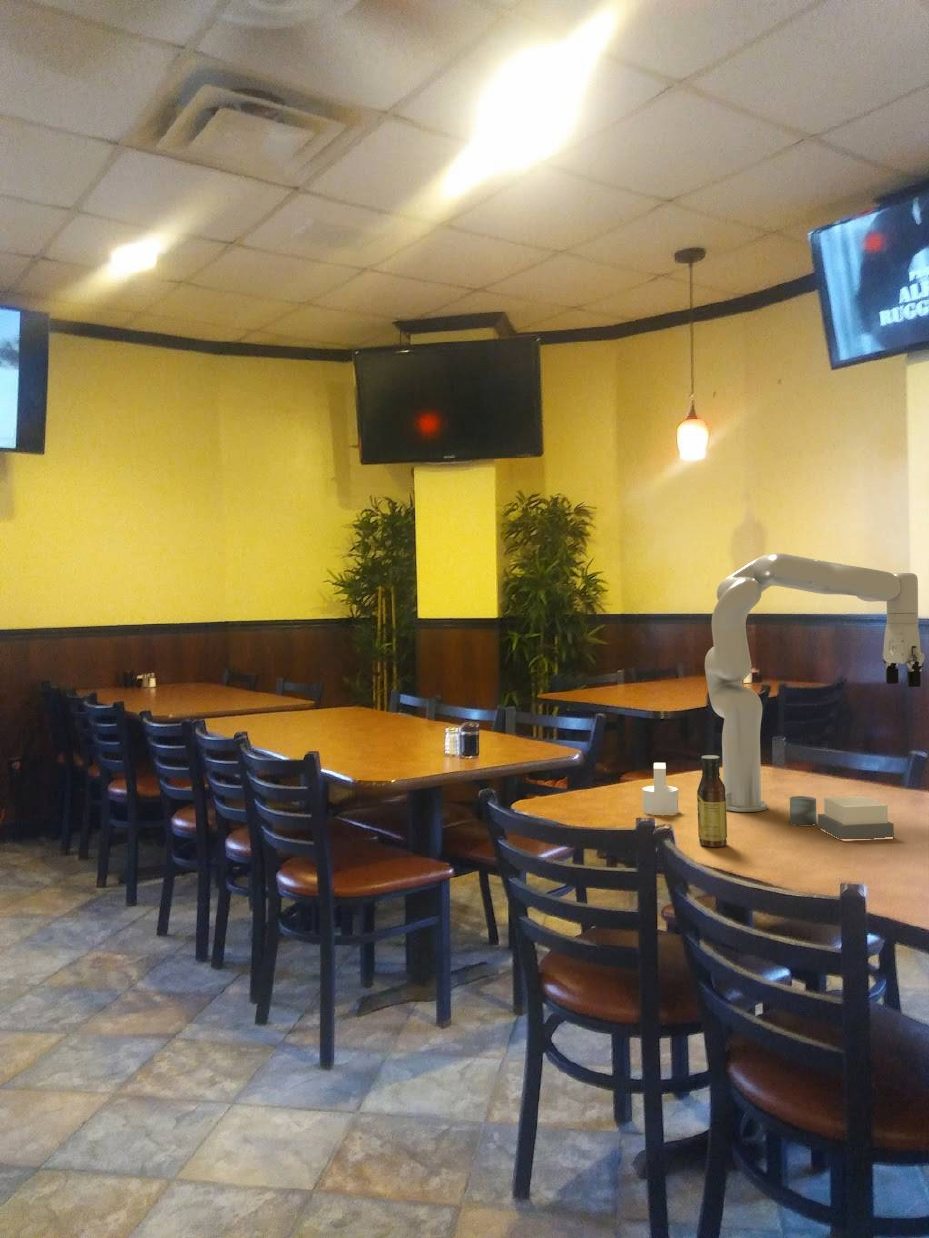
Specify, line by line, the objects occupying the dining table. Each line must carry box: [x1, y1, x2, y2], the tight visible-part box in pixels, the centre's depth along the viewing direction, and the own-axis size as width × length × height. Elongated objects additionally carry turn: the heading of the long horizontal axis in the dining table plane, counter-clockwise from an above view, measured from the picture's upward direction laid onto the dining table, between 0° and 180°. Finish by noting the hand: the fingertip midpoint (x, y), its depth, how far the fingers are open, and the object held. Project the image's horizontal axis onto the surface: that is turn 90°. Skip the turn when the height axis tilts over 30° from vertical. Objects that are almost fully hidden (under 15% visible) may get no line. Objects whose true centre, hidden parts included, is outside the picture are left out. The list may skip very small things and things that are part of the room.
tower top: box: [823, 795, 889, 825], centre depth 220 cm, size 10×10×4 cm
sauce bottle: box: [696, 754, 728, 849], centre depth 213 cm, size 6×6×20 cm
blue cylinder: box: [789, 795, 818, 826], centre depth 232 cm, size 6×6×6 cm
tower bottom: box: [817, 813, 895, 839], centre depth 220 cm, size 12×12×4 cm
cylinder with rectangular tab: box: [641, 762, 679, 816], centre depth 247 cm, size 9×9×12 cm
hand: (903, 685), depth 252 cm, fingers open, 9 cm apart
